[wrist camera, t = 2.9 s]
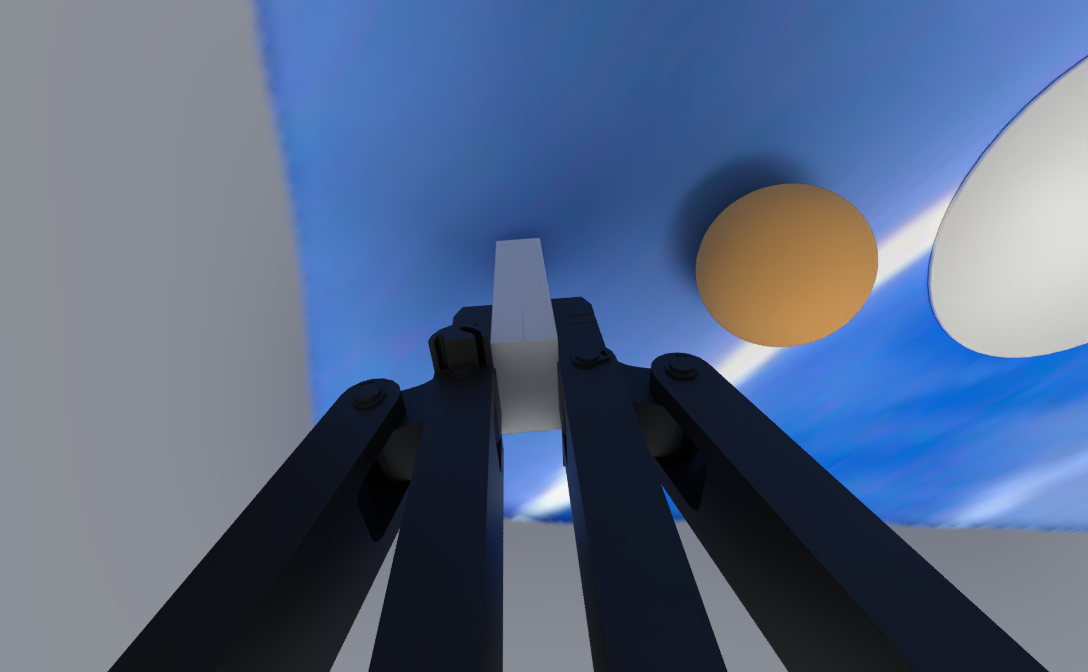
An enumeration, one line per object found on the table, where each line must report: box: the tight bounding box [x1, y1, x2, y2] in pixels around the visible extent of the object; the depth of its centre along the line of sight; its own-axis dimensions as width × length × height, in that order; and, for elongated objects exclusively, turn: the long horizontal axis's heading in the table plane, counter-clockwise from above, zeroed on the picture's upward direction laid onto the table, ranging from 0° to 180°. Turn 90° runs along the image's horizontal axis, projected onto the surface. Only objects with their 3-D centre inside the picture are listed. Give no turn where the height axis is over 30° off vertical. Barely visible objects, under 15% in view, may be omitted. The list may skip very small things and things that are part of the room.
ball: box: [696, 183, 878, 347], centre depth 16 cm, size 6×6×6 cm
